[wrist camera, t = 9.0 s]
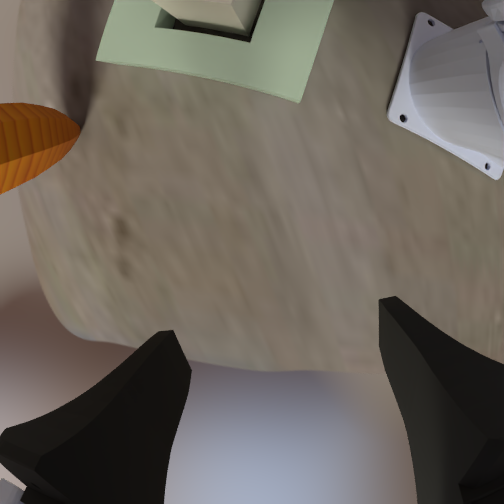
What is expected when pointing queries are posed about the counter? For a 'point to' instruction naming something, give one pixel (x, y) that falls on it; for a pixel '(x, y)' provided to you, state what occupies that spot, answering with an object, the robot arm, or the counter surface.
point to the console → (221, 45)
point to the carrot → (32, 141)
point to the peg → (214, 13)
